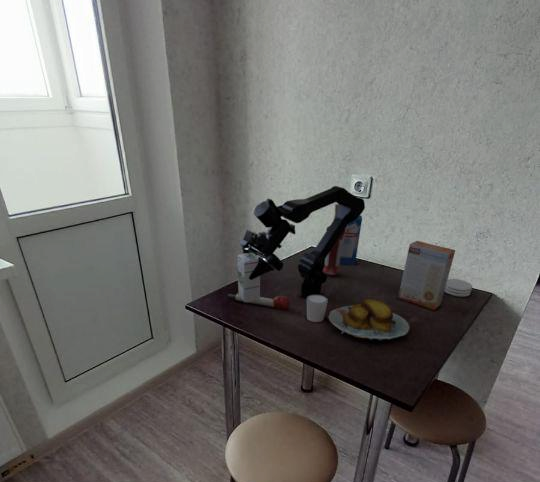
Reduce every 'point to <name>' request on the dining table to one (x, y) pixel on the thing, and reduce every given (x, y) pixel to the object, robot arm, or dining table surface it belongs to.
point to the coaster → (458, 288)
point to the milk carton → (351, 242)
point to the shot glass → (316, 308)
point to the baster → (267, 301)
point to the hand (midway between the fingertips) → (244, 275)
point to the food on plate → (369, 320)
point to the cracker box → (426, 274)
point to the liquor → (334, 254)
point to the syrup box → (247, 287)
